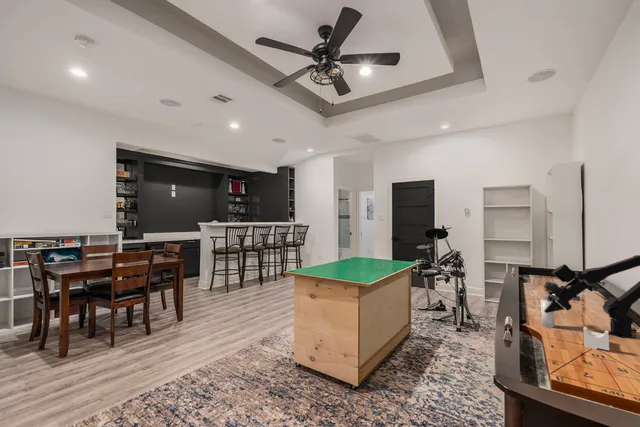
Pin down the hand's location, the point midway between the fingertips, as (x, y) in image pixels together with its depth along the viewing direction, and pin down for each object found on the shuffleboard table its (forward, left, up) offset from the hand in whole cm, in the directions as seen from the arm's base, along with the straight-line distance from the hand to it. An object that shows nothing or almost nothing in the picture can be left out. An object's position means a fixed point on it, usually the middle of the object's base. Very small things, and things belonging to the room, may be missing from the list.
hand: (543, 310), depth 142 cm
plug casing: (-1, -1, -7) cm, 7 cm away
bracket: (-23, -5, -8) cm, 25 cm away
